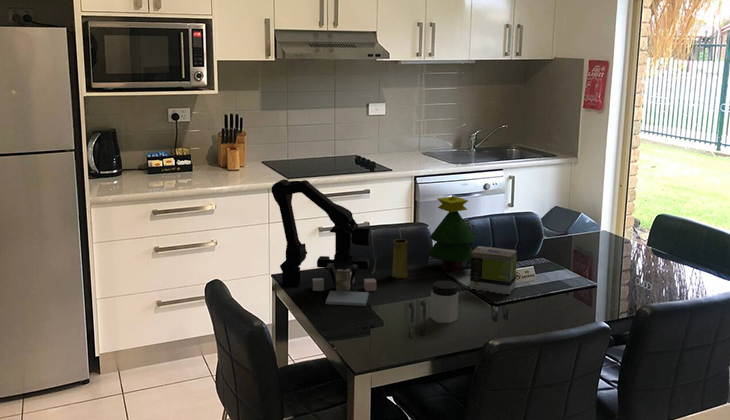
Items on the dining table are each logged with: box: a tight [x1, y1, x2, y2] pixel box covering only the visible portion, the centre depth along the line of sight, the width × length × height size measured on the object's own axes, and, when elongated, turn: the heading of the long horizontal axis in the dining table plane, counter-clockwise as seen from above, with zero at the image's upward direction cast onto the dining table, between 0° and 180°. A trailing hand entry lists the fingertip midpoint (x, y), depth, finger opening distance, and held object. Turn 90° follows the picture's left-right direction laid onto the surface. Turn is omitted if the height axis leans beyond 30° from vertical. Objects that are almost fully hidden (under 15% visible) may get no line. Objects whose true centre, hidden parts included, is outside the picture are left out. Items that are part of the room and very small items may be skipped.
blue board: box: [325, 290, 370, 307], centre depth 262 cm, size 14×11×1 cm
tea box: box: [469, 245, 518, 295], centre depth 272 cm, size 15×10×15 cm
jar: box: [429, 280, 459, 324], centre depth 244 cm, size 9×8×12 cm
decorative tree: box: [427, 195, 477, 272], centre depth 293 cm, size 19×19×30 cm
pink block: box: [363, 278, 377, 292], centre depth 272 cm, size 4×4×4 cm
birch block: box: [335, 268, 351, 292], centre depth 272 cm, size 4×4×7 cm
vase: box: [391, 238, 409, 279], centre depth 286 cm, size 6×6×14 cm
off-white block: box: [312, 277, 325, 292], centre depth 272 cm, size 4×4×4 cm
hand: (343, 284), depth 272 cm, fingers open, 6 cm apart
